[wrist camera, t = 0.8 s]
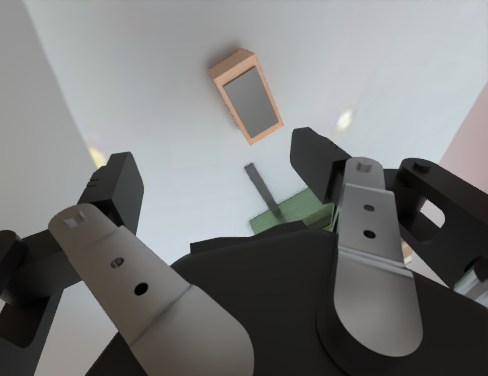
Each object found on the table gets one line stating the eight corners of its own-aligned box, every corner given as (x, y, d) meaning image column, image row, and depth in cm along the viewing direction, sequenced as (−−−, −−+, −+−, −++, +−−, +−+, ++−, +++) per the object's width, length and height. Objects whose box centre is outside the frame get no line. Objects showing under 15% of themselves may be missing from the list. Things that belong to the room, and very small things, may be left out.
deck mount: (334, 114, 36) (364, 130, 31) (349, 177, 46) (373, 199, 40) (219, 182, 38) (227, 209, 33) (256, 229, 48) (267, 256, 42)
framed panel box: (241, 48, 28) (256, 53, 23) (268, 110, 33) (285, 126, 28) (206, 70, 28) (214, 80, 23) (239, 128, 34) (251, 146, 29)
